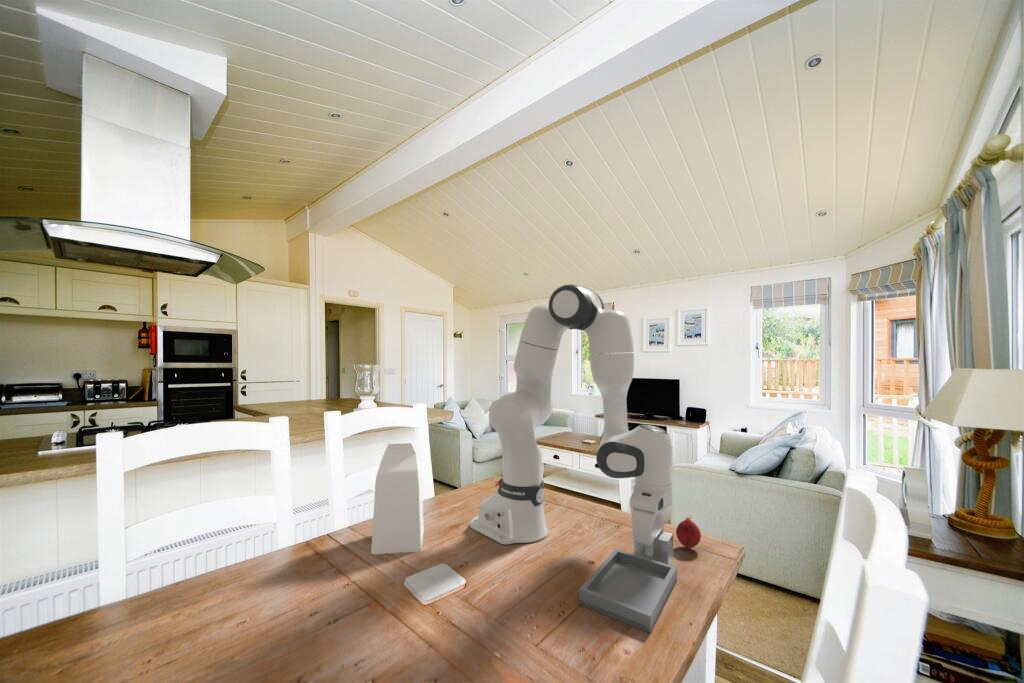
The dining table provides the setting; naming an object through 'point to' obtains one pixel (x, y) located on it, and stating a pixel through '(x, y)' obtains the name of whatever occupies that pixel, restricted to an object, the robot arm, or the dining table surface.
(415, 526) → the milk
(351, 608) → the dining table surface
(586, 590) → the tray
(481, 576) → the dining table surface
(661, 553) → the block
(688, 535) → the onion
